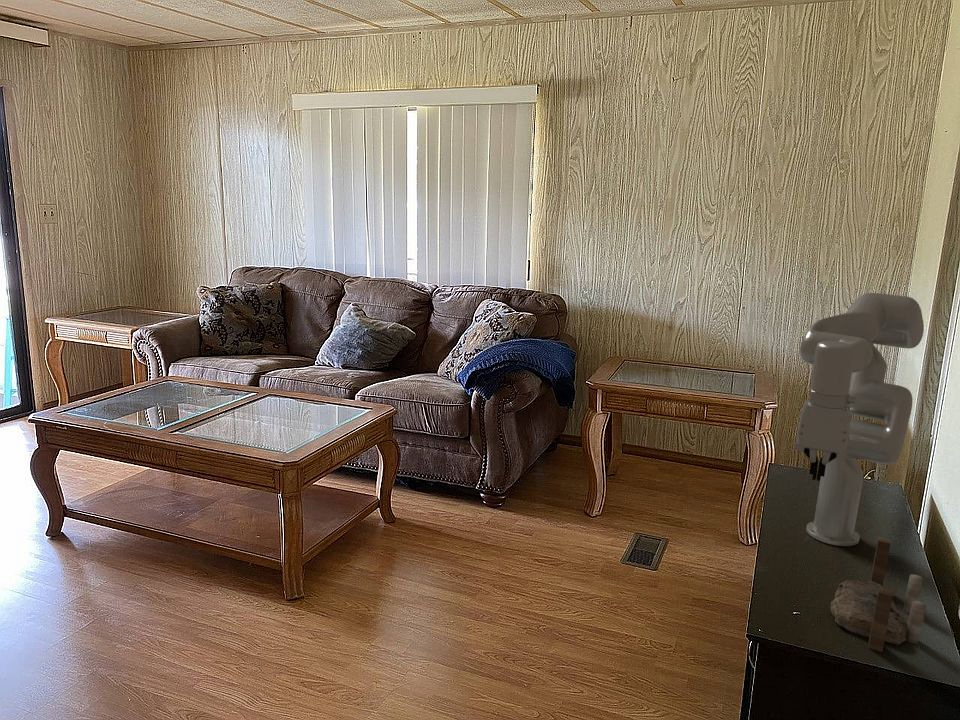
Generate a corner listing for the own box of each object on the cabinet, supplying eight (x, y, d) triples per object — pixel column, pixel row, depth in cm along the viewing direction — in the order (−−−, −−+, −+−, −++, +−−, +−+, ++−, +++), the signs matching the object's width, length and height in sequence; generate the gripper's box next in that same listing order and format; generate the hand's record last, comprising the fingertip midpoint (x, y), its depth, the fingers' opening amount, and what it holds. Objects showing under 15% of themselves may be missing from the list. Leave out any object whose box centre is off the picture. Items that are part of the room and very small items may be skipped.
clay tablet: (833, 584, 170) (826, 626, 152) (837, 565, 169) (831, 605, 151) (903, 604, 163) (904, 650, 146) (907, 584, 162) (909, 628, 145)
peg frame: (869, 585, 169) (878, 536, 167) (914, 596, 166) (924, 546, 163) (868, 648, 146) (878, 592, 143) (920, 662, 142) (932, 606, 139)
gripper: (867, 399, 159) (854, 478, 164) (792, 389, 166) (781, 465, 171) (867, 409, 153) (853, 492, 158) (788, 398, 159) (778, 477, 164)
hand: (816, 478), depth 164 cm, fingers closed
